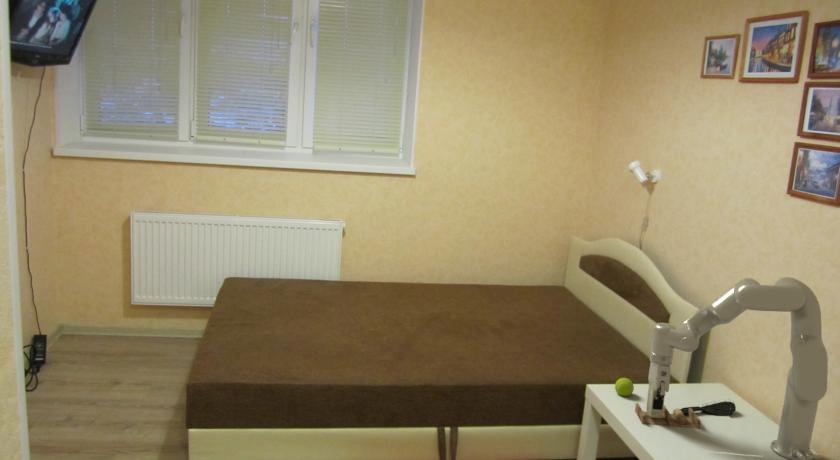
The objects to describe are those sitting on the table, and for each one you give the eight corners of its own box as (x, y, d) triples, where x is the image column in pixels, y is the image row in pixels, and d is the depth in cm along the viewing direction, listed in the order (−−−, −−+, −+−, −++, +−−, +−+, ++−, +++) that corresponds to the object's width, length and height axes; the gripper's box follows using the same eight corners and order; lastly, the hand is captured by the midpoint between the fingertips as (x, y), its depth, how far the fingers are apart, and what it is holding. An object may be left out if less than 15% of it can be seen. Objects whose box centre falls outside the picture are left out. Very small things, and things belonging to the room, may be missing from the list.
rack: (699, 430, 231) (700, 420, 231) (641, 425, 232) (643, 415, 232) (689, 417, 241) (691, 407, 240) (634, 412, 242) (635, 403, 242)
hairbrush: (670, 402, 245) (725, 396, 252) (669, 412, 245) (724, 404, 253) (685, 413, 237) (741, 405, 244) (684, 422, 238) (740, 414, 245)
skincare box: (662, 418, 233) (666, 386, 231) (649, 417, 234) (653, 385, 231) (657, 410, 240) (661, 379, 237) (645, 409, 240) (649, 378, 237)
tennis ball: (613, 390, 260) (615, 373, 259) (632, 393, 258) (634, 376, 257) (614, 397, 254) (616, 380, 252) (632, 400, 252) (635, 383, 251)
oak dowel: (688, 424, 233) (687, 417, 232) (679, 425, 233) (678, 417, 233) (681, 415, 240) (681, 408, 239) (673, 416, 240) (672, 408, 239)
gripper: (679, 368, 224) (672, 416, 227) (664, 349, 241) (658, 395, 244) (657, 366, 224) (650, 414, 228) (643, 348, 241) (637, 393, 245)
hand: (654, 404), depth 236 cm, fingers closed on skincare box, 6 cm apart
